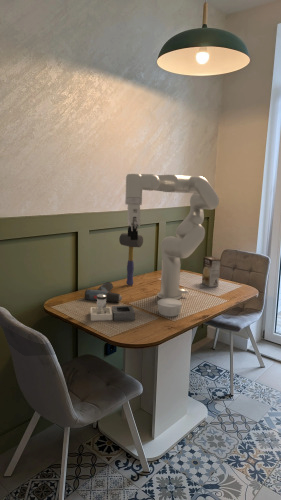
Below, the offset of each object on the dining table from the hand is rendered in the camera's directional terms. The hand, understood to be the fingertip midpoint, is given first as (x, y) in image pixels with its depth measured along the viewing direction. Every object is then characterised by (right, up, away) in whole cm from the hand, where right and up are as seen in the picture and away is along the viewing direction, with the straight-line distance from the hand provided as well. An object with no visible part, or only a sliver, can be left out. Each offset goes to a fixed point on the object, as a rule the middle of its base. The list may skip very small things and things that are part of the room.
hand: (132, 238), depth 167 cm
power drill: (-13, -30, +17) cm, 37 cm away
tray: (-13, -35, -11) cm, 39 cm away
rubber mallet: (-2, -26, +37) cm, 45 cm away
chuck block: (-4, -35, -10) cm, 36 cm away
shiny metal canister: (-13, -34, -11) cm, 38 cm away
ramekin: (+17, -35, -4) cm, 39 cm away
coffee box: (+45, -26, +45) cm, 69 cm away
